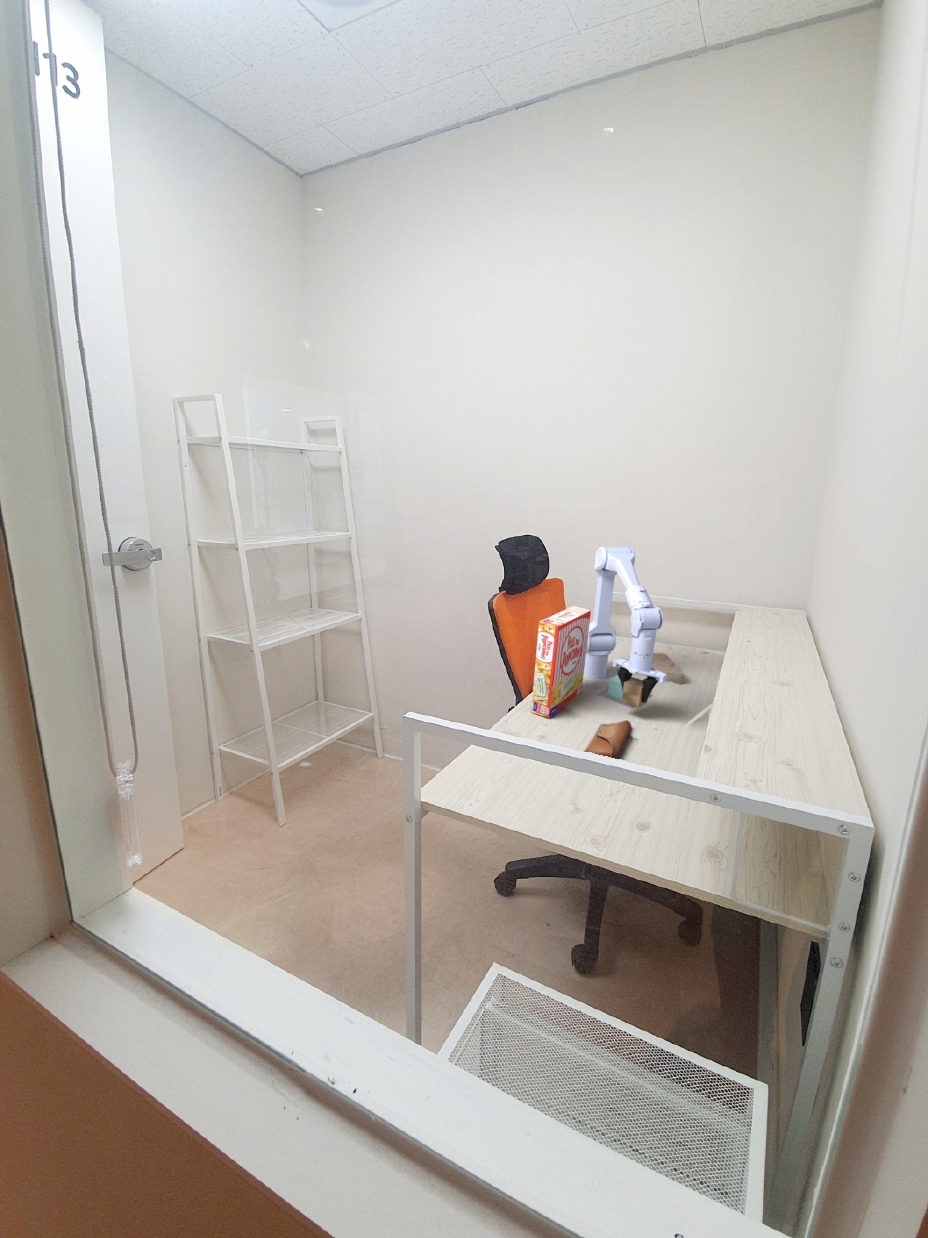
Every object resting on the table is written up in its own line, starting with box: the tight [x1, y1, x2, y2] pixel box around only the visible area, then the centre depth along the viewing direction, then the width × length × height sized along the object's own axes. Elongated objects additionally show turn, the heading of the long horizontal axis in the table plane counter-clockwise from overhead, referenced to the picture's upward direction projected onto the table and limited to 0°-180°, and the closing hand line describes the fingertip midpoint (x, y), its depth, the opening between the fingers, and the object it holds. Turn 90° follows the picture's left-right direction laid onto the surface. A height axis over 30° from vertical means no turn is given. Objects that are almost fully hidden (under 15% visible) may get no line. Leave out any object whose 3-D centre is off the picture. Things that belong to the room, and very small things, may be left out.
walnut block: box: [621, 676, 648, 709], centre depth 145 cm, size 5×5×6 cm
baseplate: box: [596, 686, 653, 709], centre depth 159 cm, size 12×12×1 cm
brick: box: [651, 652, 684, 686], centre depth 177 cm, size 17×8×5 cm, turn 1°
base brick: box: [608, 674, 643, 700], centre depth 158 cm, size 7×7×5 cm
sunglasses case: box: [583, 719, 633, 760], centre depth 134 cm, size 18×7×7 cm
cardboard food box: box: [530, 605, 592, 718], centre depth 151 cm, size 20×6×27 cm, turn 143°
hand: (634, 697), depth 145 cm, fingers closed on walnut block, 5 cm apart
